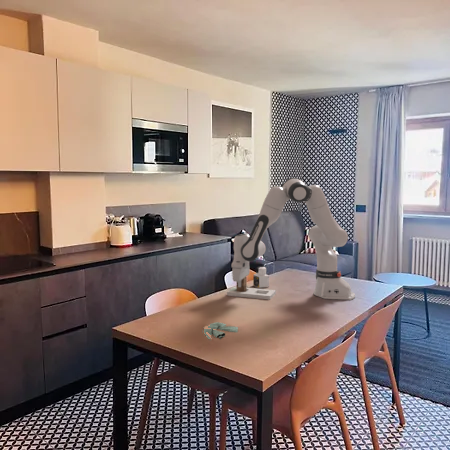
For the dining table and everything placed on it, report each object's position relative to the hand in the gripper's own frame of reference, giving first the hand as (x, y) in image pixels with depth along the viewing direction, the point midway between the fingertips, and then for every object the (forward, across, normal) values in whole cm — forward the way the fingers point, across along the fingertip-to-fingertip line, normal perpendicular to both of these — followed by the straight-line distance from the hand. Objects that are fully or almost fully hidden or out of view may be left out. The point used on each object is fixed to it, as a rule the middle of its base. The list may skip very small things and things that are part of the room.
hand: (241, 285), depth 240 cm
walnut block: (+3, 0, 0) cm, 3 cm away
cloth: (+6, +61, +11) cm, 62 cm away
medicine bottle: (+5, -20, +6) cm, 21 cm away
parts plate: (+5, 0, +6) cm, 7 cm away
